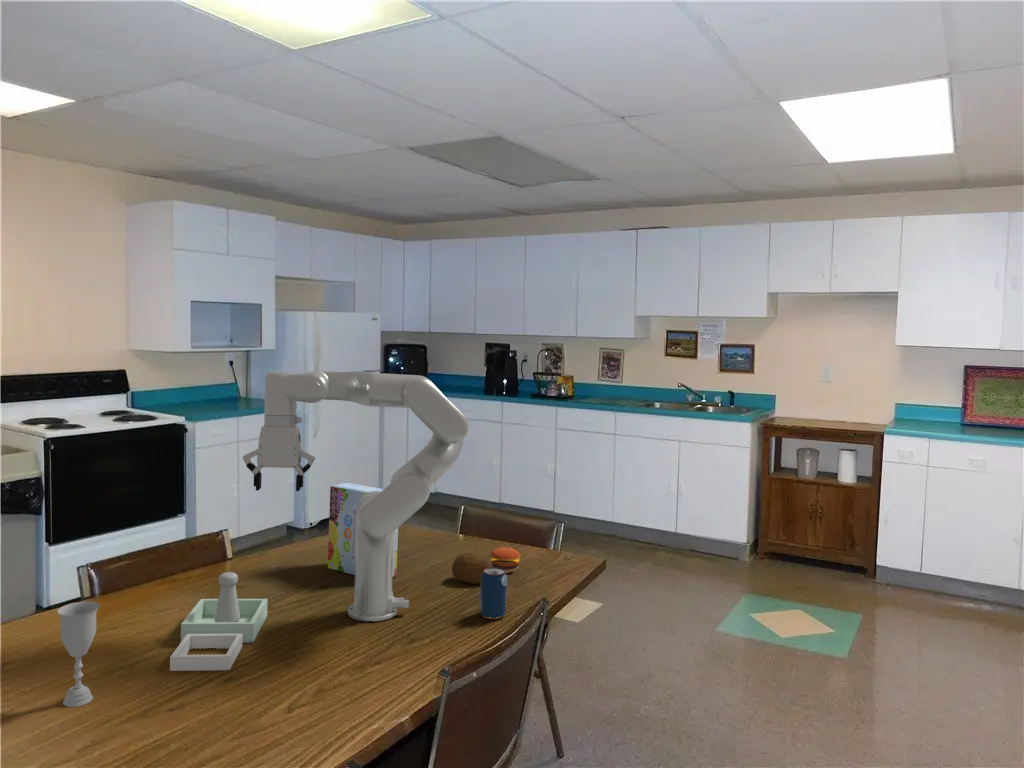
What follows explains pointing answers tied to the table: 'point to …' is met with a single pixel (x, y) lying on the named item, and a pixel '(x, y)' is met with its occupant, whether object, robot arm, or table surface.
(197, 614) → the green bin
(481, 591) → the soda can
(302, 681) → the table surface
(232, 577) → the salt shaker
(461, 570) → the potato
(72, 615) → the chalice
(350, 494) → the snack box
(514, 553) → the hamburger
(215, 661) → the grey square frame
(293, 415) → the robot arm
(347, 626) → the table surface
